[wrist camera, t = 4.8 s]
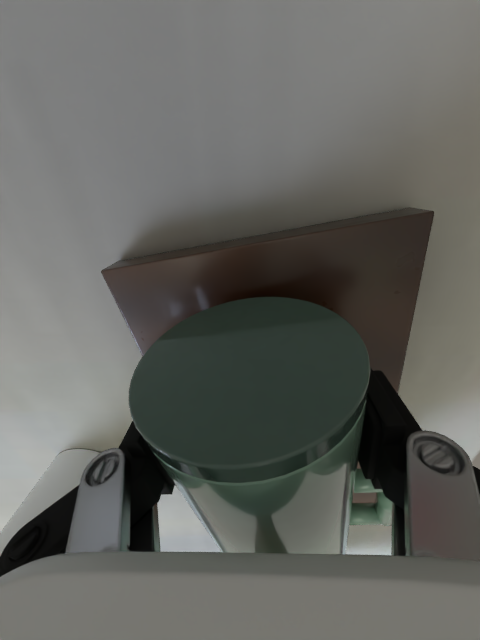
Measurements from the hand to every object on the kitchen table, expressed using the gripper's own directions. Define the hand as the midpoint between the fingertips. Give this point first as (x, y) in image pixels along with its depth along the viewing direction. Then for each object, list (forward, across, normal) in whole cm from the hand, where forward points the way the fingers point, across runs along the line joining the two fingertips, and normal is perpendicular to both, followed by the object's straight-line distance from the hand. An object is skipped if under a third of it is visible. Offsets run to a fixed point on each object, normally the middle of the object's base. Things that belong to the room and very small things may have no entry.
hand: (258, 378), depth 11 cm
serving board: (+3, 0, +6) cm, 7 cm away
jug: (-2, -1, +10) cm, 11 cm away
